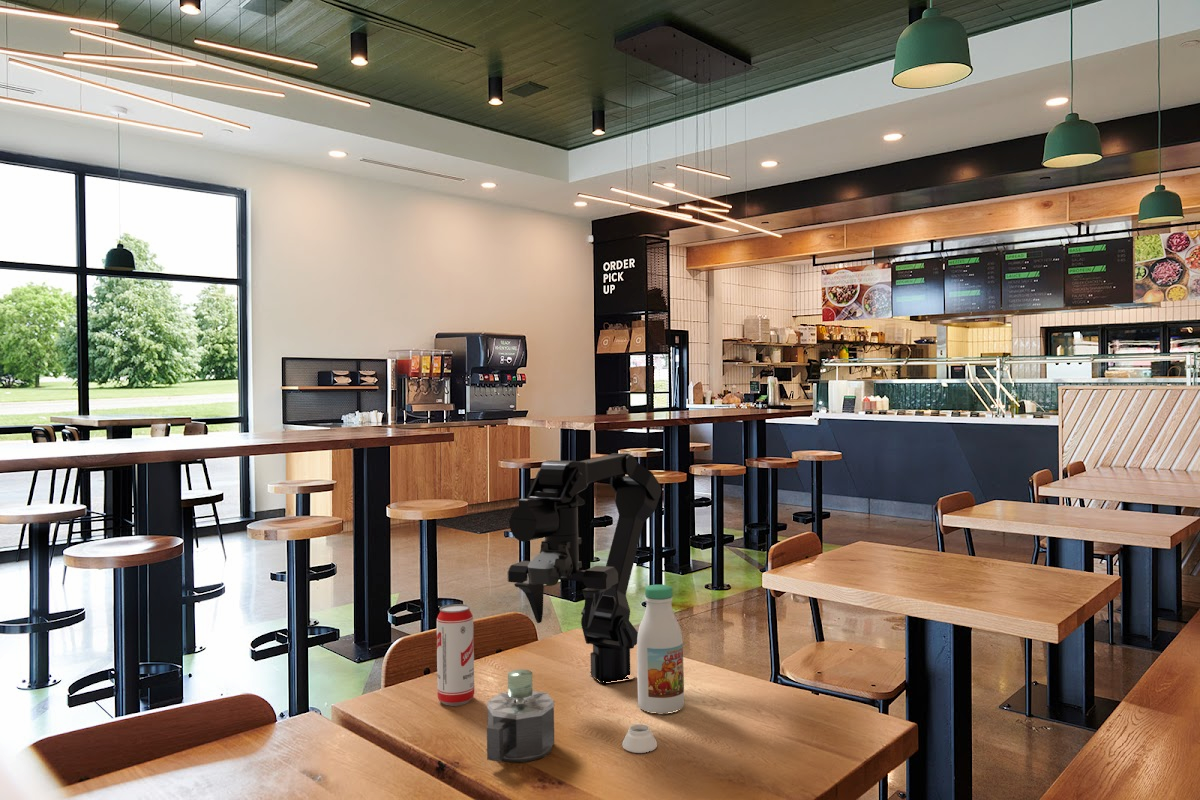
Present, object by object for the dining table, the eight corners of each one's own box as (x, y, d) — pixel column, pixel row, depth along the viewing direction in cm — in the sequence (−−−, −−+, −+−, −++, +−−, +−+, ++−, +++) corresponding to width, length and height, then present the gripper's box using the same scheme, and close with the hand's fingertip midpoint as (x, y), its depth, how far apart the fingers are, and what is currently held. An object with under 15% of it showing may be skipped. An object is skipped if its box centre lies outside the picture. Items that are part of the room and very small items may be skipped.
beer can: (478, 694, 141) (477, 603, 141) (469, 707, 134) (467, 612, 135) (443, 693, 141) (442, 603, 141) (432, 707, 135) (431, 611, 135)
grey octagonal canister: (510, 733, 123) (509, 687, 123) (563, 741, 120) (562, 694, 120) (465, 765, 112) (464, 715, 112) (522, 776, 108) (521, 724, 108)
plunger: (516, 733, 120) (515, 668, 120) (537, 737, 118) (536, 670, 118) (504, 743, 116) (503, 675, 116) (525, 746, 115) (524, 678, 115)
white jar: (654, 756, 114) (658, 742, 119) (654, 735, 114) (658, 722, 119) (620, 754, 115) (625, 740, 120) (619, 733, 115) (625, 720, 120)
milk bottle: (631, 712, 131) (629, 590, 131) (646, 696, 138) (644, 580, 138) (676, 718, 128) (674, 593, 128) (689, 702, 135) (687, 583, 136)
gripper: (489, 538, 133) (491, 631, 133) (591, 543, 126) (593, 643, 125) (522, 528, 144) (524, 616, 143) (618, 533, 136) (620, 625, 136)
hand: (562, 625), depth 137 cm, fingers open, 9 cm apart
